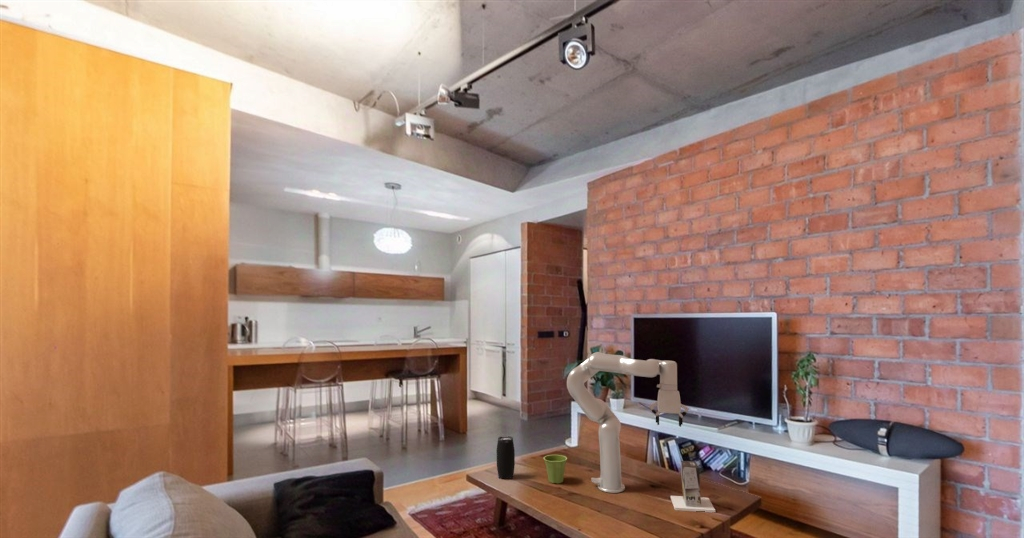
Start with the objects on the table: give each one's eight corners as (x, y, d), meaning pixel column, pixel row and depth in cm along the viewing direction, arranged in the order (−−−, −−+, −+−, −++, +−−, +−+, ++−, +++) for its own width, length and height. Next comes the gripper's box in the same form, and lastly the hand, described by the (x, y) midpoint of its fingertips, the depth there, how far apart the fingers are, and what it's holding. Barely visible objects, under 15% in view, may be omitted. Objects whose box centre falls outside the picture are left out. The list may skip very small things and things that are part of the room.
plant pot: (571, 479, 229) (571, 456, 230) (561, 487, 219) (560, 463, 220) (550, 475, 235) (550, 453, 236) (539, 482, 225) (539, 459, 226)
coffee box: (701, 507, 192) (699, 467, 193) (685, 506, 193) (683, 466, 195) (697, 498, 201) (695, 460, 202) (682, 497, 202) (680, 460, 204)
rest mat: (674, 510, 192) (674, 507, 192) (670, 497, 204) (670, 495, 205) (715, 512, 189) (715, 510, 189) (708, 500, 201) (708, 497, 201)
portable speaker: (493, 476, 235) (493, 437, 237) (509, 472, 240) (508, 434, 242) (502, 481, 228) (502, 441, 230) (518, 477, 233) (517, 438, 235)
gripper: (649, 387, 211) (650, 425, 210) (689, 390, 207) (689, 428, 205) (648, 385, 218) (649, 421, 217) (687, 387, 214) (687, 424, 213)
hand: (669, 425), depth 211 cm, fingers open, 9 cm apart
